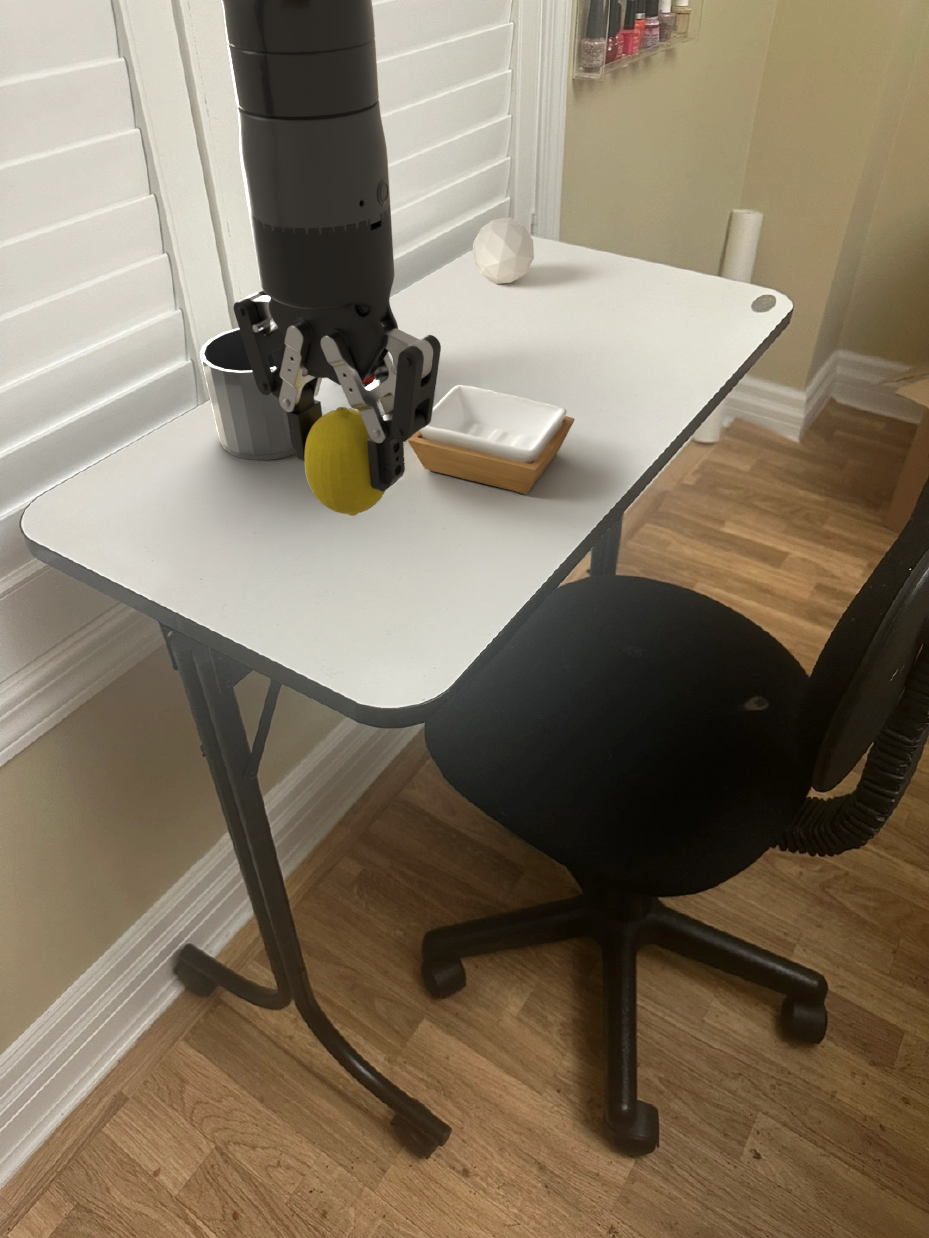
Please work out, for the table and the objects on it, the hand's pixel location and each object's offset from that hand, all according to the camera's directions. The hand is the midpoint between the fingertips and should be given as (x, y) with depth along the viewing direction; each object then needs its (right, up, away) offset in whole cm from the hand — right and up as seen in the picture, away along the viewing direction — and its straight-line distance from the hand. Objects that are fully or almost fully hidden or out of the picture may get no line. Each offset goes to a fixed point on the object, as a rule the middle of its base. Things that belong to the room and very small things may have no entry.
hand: (348, 469), depth 59 cm
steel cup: (-12, +9, +30) cm, 34 cm away
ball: (+13, +34, +58) cm, 69 cm away
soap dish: (+10, +5, +26) cm, 28 cm away
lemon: (0, -3, +3) cm, 4 cm away
